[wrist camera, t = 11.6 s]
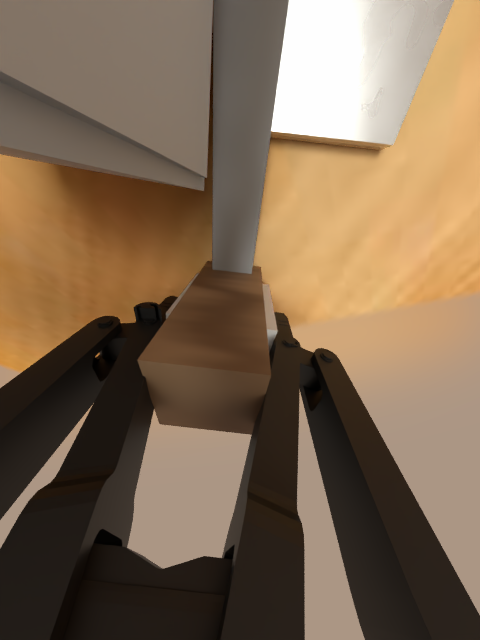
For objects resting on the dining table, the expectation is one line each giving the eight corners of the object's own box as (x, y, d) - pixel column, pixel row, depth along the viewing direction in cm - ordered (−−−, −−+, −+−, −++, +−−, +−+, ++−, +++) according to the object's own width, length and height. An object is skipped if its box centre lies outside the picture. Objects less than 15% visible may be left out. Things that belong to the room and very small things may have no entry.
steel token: (268, 139, 12) (270, 130, 10) (305, -140, 7) (319, -232, 6) (375, 152, 12) (393, 145, 10) (479, -120, 7) (540, -206, 6)
